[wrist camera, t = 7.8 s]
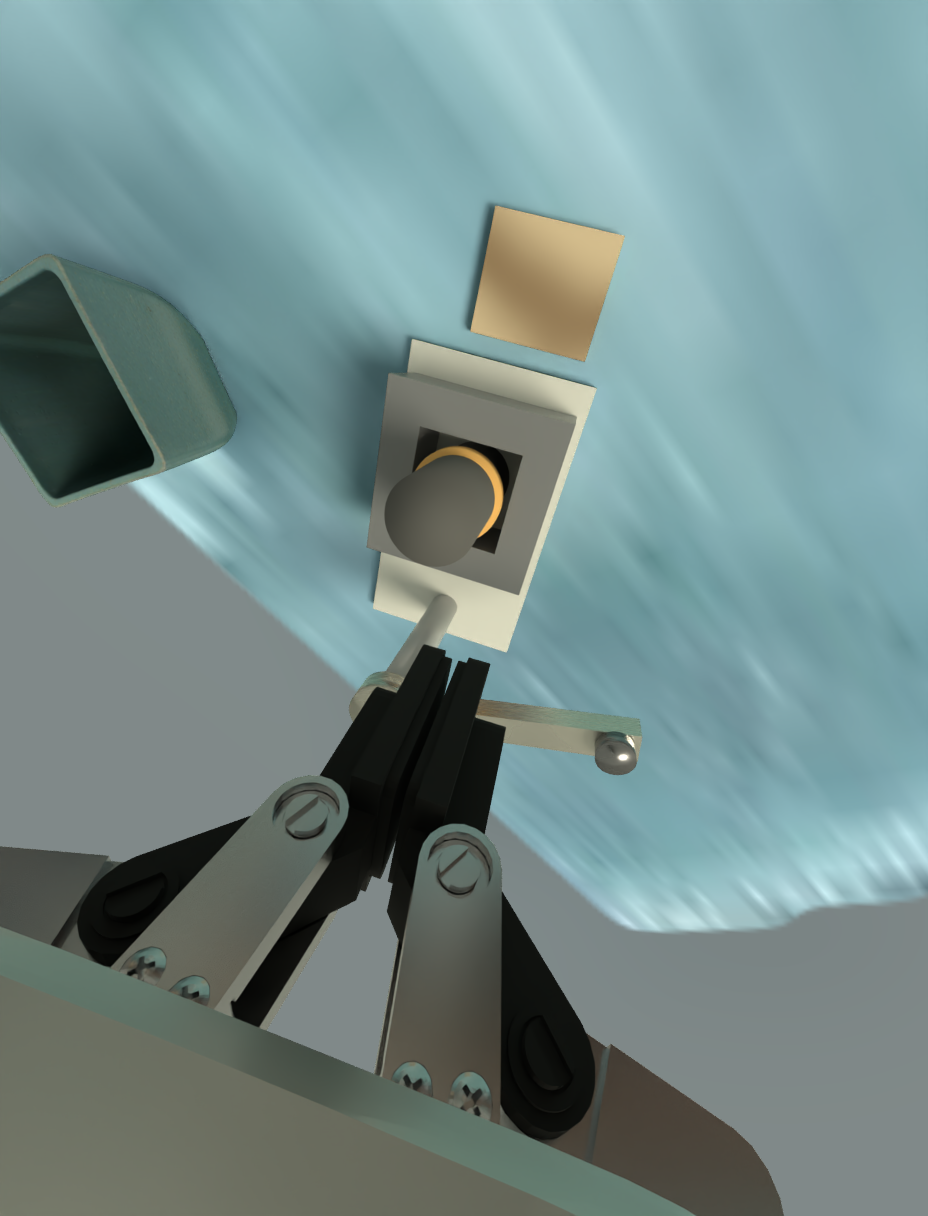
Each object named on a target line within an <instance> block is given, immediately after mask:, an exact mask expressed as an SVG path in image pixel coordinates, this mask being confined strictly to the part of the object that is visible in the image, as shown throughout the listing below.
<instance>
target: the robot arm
mask: <svg viewBox="0 0 928 1216" xmlns="http://www.w3.org/2000/svg"><path fill="white" fill-rule="evenodd" d="M445 653H446V651H445V650H442V649H439V648H436V647H432V646H429V645H426V644H424V645H423V646H422V648H421V649H420V651H419V653H418V655H417V657H416V658H415V660H414V662H413V664H412V666H411V667H410V669H409V671H408V673H407V675H406V677H405V678H404V680H403V682H402V684H401V686H400V687H399V689H398V691H397V693H396V692H393V691H390V690H386V689H383V688H380V687H376V688H375V689H374V690H373V691H372V693H371V694H370V696H369V698H368V699H367V701H366V702H365V704H364V706H363V707H362V709H361V710H360V712H359V714H358V715H357V717H356V718H355V720H354V722H353V723H352V725H351V727H350V728H349V729H348V731H347V733H346V734H345V736H344V738H343V739H342V741H341V742H340V744H339V745H338V747H337V749H336V750H335V752H334V754H333V755H332V757H331V758H330V760H329V762H328V763H327V765H326V766H325V768H324V770H323V771H322V773H321V774H320V776H311V775H308V776H303V777H298V778H295V779H292V780H290V781H288V782H286V783H284V784H283V785H281V786H280V787H279V788H278V789H277V790H275V791H274V792H273V793H272V794H271V795H270V796H269V798H268V799H267V800H266V801H265V802H264V803H263V804H262V805H261V806H260V807H259V808H258V809H257V810H256V811H255V813H254V814H253V815H252V816H249V817H246V818H243V819H240V820H238V821H235V822H232V823H229V824H226V825H223V826H220V827H218V828H215V829H212V830H209V831H206V832H204V833H201V834H198V835H195V836H193V837H190V838H187V839H184V840H181V841H178V842H176V843H173V844H170V845H167V846H165V847H162V848H159V849H156V850H153V851H150V852H147V853H145V854H142V855H139V856H136V857H134V858H132V859H130V860H128V861H126V862H114V861H111V860H110V857H109V856H105V855H94V854H81V853H71V852H59V851H47V850H36V849H23V848H12V847H0V1216H784V1214H783V1209H782V1205H781V1200H780V1197H779V1194H778V1192H777V1190H776V1187H775V1185H774V1183H773V1180H772V1178H771V1176H770V1173H769V1171H768V1169H767V1168H766V1166H765V1165H764V1163H763V1162H762V1160H761V1159H760V1157H759V1156H758V1154H757V1153H756V1152H755V1150H754V1148H753V1147H752V1146H751V1145H750V1144H749V1143H748V1142H747V1141H746V1140H745V1139H744V1138H743V1137H742V1136H741V1135H740V1134H739V1133H738V1132H737V1131H736V1130H734V1129H733V1128H732V1127H730V1126H729V1125H727V1124H726V1123H725V1122H723V1121H722V1120H720V1119H719V1118H717V1117H716V1116H714V1115H713V1114H712V1113H710V1112H709V1111H707V1110H706V1109H704V1108H703V1107H701V1106H700V1105H699V1104H697V1103H696V1102H694V1101H693V1100H691V1099H690V1098H689V1097H687V1096H686V1095H684V1094H683V1093H681V1092H680V1091H678V1090H677V1089H675V1088H674V1087H672V1086H671V1085H670V1084H668V1083H667V1082H665V1081H664V1080H662V1079H661V1078H660V1077H658V1076H656V1075H655V1074H654V1073H652V1072H651V1071H649V1070H648V1069H647V1068H645V1067H644V1066H642V1065H641V1064H639V1063H638V1062H636V1061H635V1060H634V1059H632V1058H631V1057H629V1056H628V1055H626V1054H625V1053H623V1052H622V1051H621V1050H619V1049H618V1048H616V1047H615V1046H613V1045H612V1044H610V1045H609V1046H608V1047H605V1046H604V1045H603V1044H601V1043H600V1042H598V1041H597V1040H595V1039H594V1038H592V1037H591V1036H590V1035H588V1034H587V1033H586V1032H585V1030H584V1028H583V1025H582V1023H581V1021H580V1020H579V1018H578V1016H577V1015H576V1013H575V1011H574V1010H573V1008H572V1007H571V1005H570V1003H569V1002H568V1000H567V998H566V997H565V995H564V993H563V992H562V990H561V988H560V987H559V985H558V983H557V982H556V980H555V978H554V977H553V975H552V973H551V972H550V970H549V968H548V967H547V965H546V964H545V962H544V960H543V958H542V957H541V955H540V954H539V952H538V950H537V949H536V947H535V945H534V943H533V942H532V940H531V938H530V937H529V935H528V933H527V932H526V930H525V929H524V927H523V925H522V924H521V922H520V921H519V919H518V917H517V915H516V914H515V912H514V911H513V909H512V907H511V905H510V904H509V902H508V900H507V899H506V897H505V896H504V894H503V892H502V868H501V861H500V857H499V855H498V852H497V850H496V848H495V846H494V844H493V843H492V842H491V841H490V840H489V839H488V837H487V836H486V835H485V830H486V825H487V819H488V815H489V810H490V805H491V800H492V795H493V790H494V785H495V781H496V776H497V771H498V766H499V761H500V756H501V751H502V746H503V741H504V737H505V731H506V727H505V726H501V725H498V724H495V723H492V722H489V721H485V720H482V719H479V718H476V717H475V716H476V713H477V709H478V706H479V702H480V699H481V695H482V692H483V688H484V685H485V681H486V678H487V674H488V671H489V667H490V664H489V663H486V662H482V661H479V660H476V659H472V658H468V661H467V663H465V662H461V661H458V663H457V666H456V668H455V671H454V673H453V676H452V678H451V681H450V683H449V685H448V688H447V690H446V685H447V681H448V677H449V672H450V668H451V663H452V659H451V658H448V657H445ZM445 690H446V693H445ZM444 694H445V695H444ZM395 841H396V843H395ZM394 843H395V848H394V853H393V858H392V863H391V868H390V873H389V878H388V882H390V883H393V885H392V890H391V895H390V899H389V905H388V909H387V913H388V915H389V918H390V920H391V923H392V925H393V927H394V930H395V932H396V935H397V937H398V942H397V947H396V953H395V958H394V964H393V969H392V975H391V981H390V986H389V992H388V997H387V1003H386V1009H385V1014H384V1020H383V1026H382V1031H381V1036H380V1042H379V1048H378V1053H377V1059H376V1064H375V1070H374V1074H373V1073H370V1072H368V1071H365V1070H363V1069H360V1068H358V1067H355V1066H353V1065H350V1064H348V1063H345V1062H343V1061H340V1060H338V1059H335V1058H333V1057H331V1056H328V1055H325V1054H323V1053H321V1052H318V1051H316V1050H313V1049H311V1048H308V1047H306V1046H303V1045H301V1044H298V1043H296V1042H293V1041H291V1040H288V1039H286V1038H283V1037H281V1036H278V1035H276V1034H273V1033H270V1032H268V1031H266V1030H267V1029H268V1027H269V1025H270V1024H271V1022H272V1020H273V1019H274V1017H275V1015H276V1014H277V1012H278V1011H279V1009H280V1007H281V1006H282V1004H283V1002H284V1000H285V999H286V997H287V996H288V994H289V992H290V991H291V989H292V987H293V986H294V984H295V982H296V981H297V979H298V977H299V976H300V974H301V972H302V970H303V969H304V967H305V965H306V964H307V962H308V961H309V959H310V957H311V956H312V954H313V952H314V951H315V949H316V947H317V946H318V944H319V942H320V940H321V939H322V937H323V936H324V934H325V932H326V931H327V929H328V927H329V926H330V924H331V922H332V921H333V919H334V917H335V915H336V913H337V910H338V909H339V908H341V907H344V906H346V905H348V904H350V903H351V902H353V901H355V900H356V899H357V896H358V894H359V891H360V890H363V891H366V889H367V886H368V884H369V882H370V879H371V877H372V876H374V877H377V878H379V879H380V878H381V877H382V874H383V872H384V869H385V867H386V864H387V862H388V859H389V856H390V854H391V851H392V849H393V846H394Z"/></svg>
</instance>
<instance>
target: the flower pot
mask: <svg viewBox="0 0 928 1216" xmlns="http://www.w3.org/2000/svg"><path fill="white" fill-rule="evenodd" d="M236 422H237V415H236V412H235V410H234V407H233V405H232V403H231V401H230V399H229V397H228V395H227V392H226V390H225V388H224V386H223V384H222V382H221V379H220V377H219V375H218V373H217V370H216V368H215V366H214V364H213V362H212V359H211V357H210V355H209V353H208V350H207V348H206V346H205V343H204V341H203V339H202V338H201V336H200V335H199V334H198V332H197V331H196V330H195V328H194V327H193V326H192V325H191V324H190V323H189V321H188V320H187V319H186V318H185V317H184V316H183V315H182V314H181V313H180V312H179V311H178V310H177V309H176V308H175V307H173V306H172V305H171V304H170V303H168V302H167V301H166V300H164V299H163V298H161V297H160V296H158V295H157V294H155V293H153V292H151V291H149V290H147V289H145V288H143V287H141V286H138V285H136V284H133V283H131V282H128V281H125V280H123V279H120V278H117V277H114V276H111V275H109V274H106V273H103V272H100V271H97V270H95V269H92V268H89V267H86V266H83V265H80V264H77V263H74V262H71V261H68V260H65V259H63V258H60V257H57V256H55V255H52V254H45V255H42V256H40V257H38V258H36V259H34V260H33V261H31V262H30V263H29V264H27V265H25V266H24V267H22V268H21V269H20V270H18V271H17V272H15V273H14V274H12V275H11V276H9V277H8V278H6V279H5V280H4V281H1V282H0V433H1V434H2V436H3V437H4V439H5V441H6V442H7V443H8V445H9V447H10V448H11V449H12V451H13V452H14V454H15V455H16V457H17V458H18V460H19V462H20V463H21V465H22V466H23V468H24V469H25V471H26V472H27V474H28V475H29V477H30V478H31V480H32V482H33V483H34V485H35V486H36V488H37V490H38V491H39V493H40V494H41V495H42V497H43V498H44V499H45V500H46V501H47V502H48V503H49V505H51V506H52V507H61V506H64V505H66V504H69V503H72V502H75V501H78V500H80V499H83V498H86V497H89V496H92V495H95V494H98V493H100V492H103V491H106V490H109V489H112V488H115V487H118V486H121V485H124V484H127V483H130V482H133V481H136V480H139V479H142V478H145V477H149V476H153V475H156V474H159V473H161V472H164V471H167V470H169V469H172V468H175V467H177V466H180V465H182V464H185V463H187V462H190V461H192V460H195V459H197V458H200V457H202V456H205V455H207V454H209V453H212V452H214V451H216V450H218V449H219V448H221V447H222V446H224V445H225V444H226V443H227V442H228V441H229V440H230V439H231V437H232V436H233V434H234V431H235V428H236Z"/></svg>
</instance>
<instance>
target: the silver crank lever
mask: <svg viewBox="0 0 928 1216" xmlns="http://www.w3.org/2000/svg"><path fill="white" fill-rule="evenodd" d="M403 680H404V677H402V676H400V675H398V674H396V673H392V672H386V671H382V672H376V673H373V674H371V675H370V676H369V677H368V678H367V679H366V680H365V681H364V683H363V684H362V686H361V687H360V688H359V690H358V691H357V693H356V694H355V696H354V697H353V698H352V700H351V702H350V705H349V712H350V716H351V718H352V720H353V722H354V720H355V718H356V717H357V715H358V714H359V712H360V710H361V709H362V707H363V706H364V704H365V702H366V701H367V699H368V698H369V696H370V694H371V693H372V691H373V690H374V689H375V688H376V687H380V688H383V689H386V690H390V691H393V692H396V693H397V691H398V689H399V687H400V686H401V684H402V682H403ZM475 717H476V718H479V719H482V720H485V721H489V722H492V723H495V724H498V725H501V726H505V727H506V731H505V737H504V741H503V743H509V744H516V745H523V746H530V747H537V748H544V749H551V750H558V751H564V752H571V753H578V754H585V755H592V756H595V762H596V764H597V766H598V767H599V768H600V769H601V770H602V771H604V772H606V773H609V774H613V775H623V774H627V773H629V772H631V771H632V770H633V769H634V768H635V766H636V764H637V761H638V756H639V751H640V746H641V741H642V732H641V726H640V719H637V718H629V717H620V716H612V715H604V714H596V713H588V712H580V711H572V710H564V709H556V708H548V707H540V706H532V705H524V704H516V703H508V702H500V701H492V700H484V699H480V702H479V706H478V709H477V713H476V716H475Z"/></svg>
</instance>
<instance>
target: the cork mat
mask: <svg viewBox="0 0 928 1216" xmlns="http://www.w3.org/2000/svg"><path fill="white" fill-rule="evenodd" d="M624 237H625V236H622V235H618V234H614V233H610V232H605V231H601V230H597V229H593V228H588V227H584V226H580V225H576V224H571V223H567V222H563V221H559V220H554V219H550V218H546V217H542V216H537V215H533V214H529V213H525V212H520V211H516V210H512V209H508V208H503V207H499V206H495V211H494V216H493V221H492V226H491V231H490V236H489V241H488V246H487V251H486V256H485V261H484V266H483V271H482V276H481V281H480V286H479V291H478V296H477V301H476V306H475V311H474V316H473V321H472V326H471V332H474V333H477V334H481V335H485V336H489V337H493V338H496V339H500V340H504V341H508V342H511V343H515V344H519V345H523V346H527V347H530V348H534V349H538V350H542V351H546V352H549V353H553V354H557V355H561V356H565V357H568V358H572V359H576V360H580V361H584V362H585V359H586V356H587V353H588V350H589V347H590V344H591V340H592V337H593V334H594V331H595V328H596V325H597V322H598V319H599V315H600V312H601V309H602V306H603V303H604V300H605V297H606V294H607V291H608V287H609V284H610V281H611V278H612V275H613V272H614V269H615V266H616V263H617V259H618V256H619V253H620V250H621V247H622V244H623V241H624Z"/></svg>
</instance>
